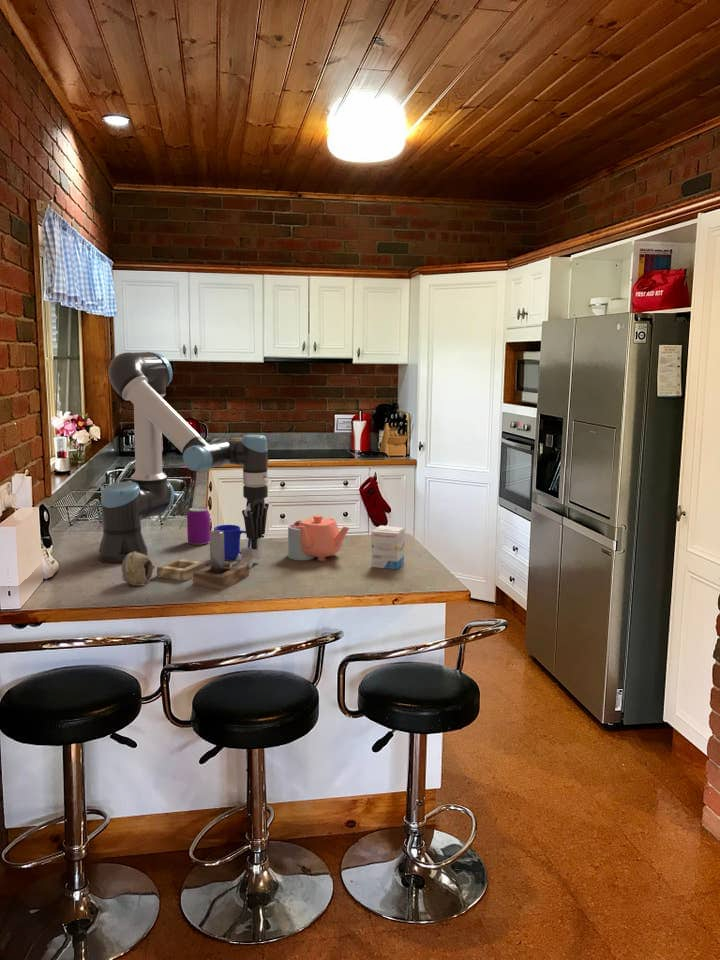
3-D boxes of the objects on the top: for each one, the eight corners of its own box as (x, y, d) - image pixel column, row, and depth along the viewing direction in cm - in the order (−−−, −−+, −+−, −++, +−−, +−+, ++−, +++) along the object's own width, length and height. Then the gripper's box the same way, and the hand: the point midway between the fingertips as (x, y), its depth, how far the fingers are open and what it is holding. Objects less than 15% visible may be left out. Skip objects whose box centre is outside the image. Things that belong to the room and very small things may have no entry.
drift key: (245, 565, 238) (244, 546, 237) (252, 566, 237) (252, 547, 236) (231, 572, 231) (231, 553, 230) (238, 573, 230) (238, 554, 229)
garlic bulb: (128, 595, 217) (116, 566, 212) (124, 582, 224) (113, 553, 220) (160, 582, 219) (149, 553, 215) (156, 569, 227) (144, 541, 222)
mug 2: (282, 556, 249) (282, 526, 247) (301, 550, 256) (301, 521, 254) (314, 564, 241) (314, 533, 239) (333, 558, 248) (333, 528, 246)
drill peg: (208, 583, 221) (206, 532, 218) (215, 579, 224) (214, 529, 222) (220, 585, 219) (219, 534, 217) (227, 581, 223) (226, 531, 220)
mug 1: (246, 563, 241) (246, 532, 239) (210, 560, 244) (210, 529, 242) (255, 556, 249) (255, 526, 247) (220, 553, 251) (219, 524, 250)
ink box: (404, 562, 244) (405, 526, 242) (397, 570, 236) (398, 533, 234) (378, 559, 247) (379, 524, 245) (370, 567, 239) (371, 530, 237)
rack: (157, 576, 226) (156, 567, 226) (177, 567, 235) (177, 558, 235) (185, 581, 222) (185, 571, 222) (205, 571, 232) (204, 562, 231)
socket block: (220, 571, 232) (219, 560, 231) (248, 575, 228) (248, 564, 228) (193, 584, 219) (193, 573, 219) (223, 589, 215) (223, 577, 215)
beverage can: (208, 539, 269) (208, 505, 267) (211, 544, 262) (211, 510, 260) (186, 540, 267) (185, 507, 265) (189, 546, 260) (188, 511, 257)
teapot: (349, 560, 245) (350, 519, 243) (299, 565, 239) (299, 523, 237) (332, 547, 260) (332, 509, 258) (284, 552, 254) (284, 512, 251)
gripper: (255, 489, 230) (256, 565, 234) (276, 482, 242) (276, 554, 246) (233, 487, 233) (235, 562, 237) (255, 480, 245) (256, 551, 249)
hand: (256, 558), depth 242 cm, fingers closed
